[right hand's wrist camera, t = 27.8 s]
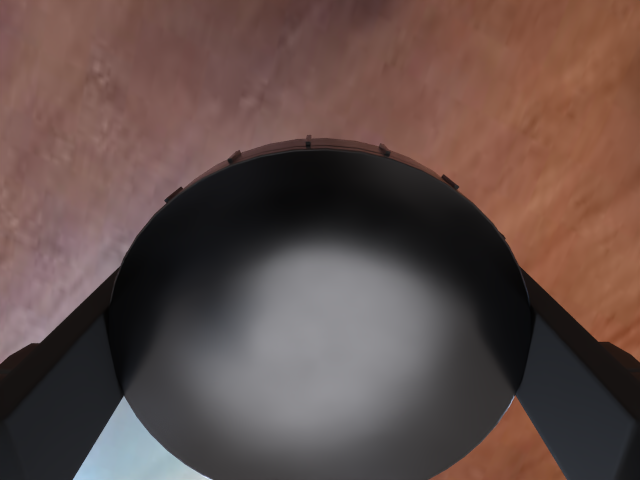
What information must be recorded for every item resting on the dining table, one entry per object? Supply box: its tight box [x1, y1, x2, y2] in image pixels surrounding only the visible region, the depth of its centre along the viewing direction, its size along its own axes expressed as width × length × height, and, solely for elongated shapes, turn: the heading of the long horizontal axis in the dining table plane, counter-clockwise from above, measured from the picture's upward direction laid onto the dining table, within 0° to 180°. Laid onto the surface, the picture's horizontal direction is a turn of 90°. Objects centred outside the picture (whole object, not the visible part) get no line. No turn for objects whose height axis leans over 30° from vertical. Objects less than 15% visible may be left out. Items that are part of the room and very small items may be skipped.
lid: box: [108, 135, 532, 480], centre depth 12 cm, size 11×11×2 cm
